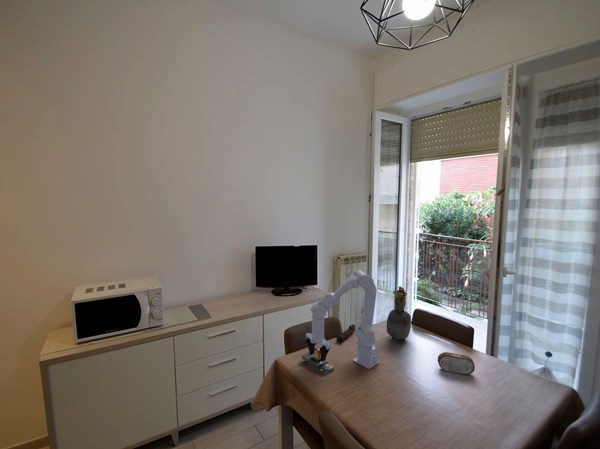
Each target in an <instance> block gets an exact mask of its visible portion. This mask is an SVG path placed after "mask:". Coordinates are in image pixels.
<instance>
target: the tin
mask: <svg viewBox="0 0 600 449" xmlns="http://www.w3.org/2000/svg"><path fill="white" fill-rule="evenodd" d="M437 362H438V366H439V367H440V369H441V370H443V371H444V372H448V373H453V374H458V375H464V376H468V375H471V374H473V373H474V371H475V368H476V367H475V362H474V360H473V359H472V358H471V357H470V356H468V355H465V354H459V353H454V352H453V353H452V352H448V351H446V352H445V351H444V352H440V354H439V355H438V357H437Z"/></svg>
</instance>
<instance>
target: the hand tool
mask: <svg viewBox="0 0 600 449" xmlns="http://www.w3.org/2000/svg"><path fill="white" fill-rule="evenodd" d="M353 332H354V333H355V332H356V325H355V324H354V323H353V324H350V325H349V326H348V328H347V329H345V330H344V331H343V332H342V333H340V334H339V335H337V336H336V341H337V342H338V343H340V344H343V342H344V341H345V340H346V339H347V338H349V337H350V336H351V335H353V334H354V333H353Z"/></svg>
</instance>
